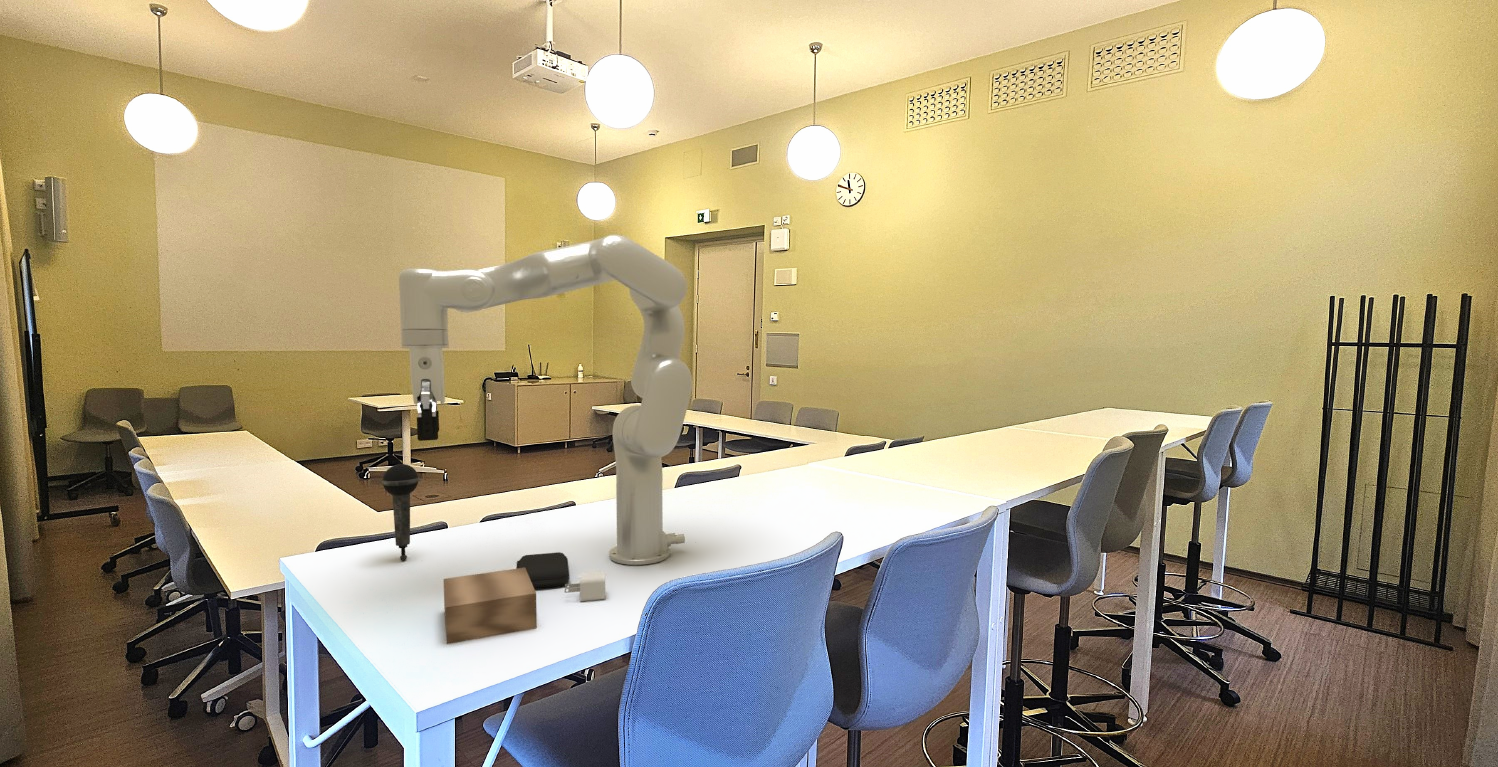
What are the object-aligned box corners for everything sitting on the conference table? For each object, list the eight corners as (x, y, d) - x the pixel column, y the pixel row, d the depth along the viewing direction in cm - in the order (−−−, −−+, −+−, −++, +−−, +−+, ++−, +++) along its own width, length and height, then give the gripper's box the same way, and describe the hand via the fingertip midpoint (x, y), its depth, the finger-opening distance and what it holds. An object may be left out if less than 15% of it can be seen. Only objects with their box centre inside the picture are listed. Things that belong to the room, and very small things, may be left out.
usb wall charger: (605, 600, 118) (605, 578, 118) (564, 603, 116) (564, 581, 116) (605, 591, 122) (604, 570, 121) (565, 595, 120) (565, 573, 120)
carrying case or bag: (512, 568, 135) (508, 595, 121) (511, 553, 134) (508, 579, 120) (567, 563, 138) (569, 589, 124) (567, 548, 138) (569, 573, 123)
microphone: (424, 562, 137) (421, 465, 136) (386, 568, 133) (383, 468, 132) (419, 553, 143) (416, 459, 141) (382, 559, 139) (379, 463, 138)
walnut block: (525, 600, 118) (525, 567, 118) (536, 629, 106) (536, 592, 106) (444, 613, 113) (443, 578, 112) (446, 646, 101) (445, 607, 100)
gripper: (448, 340, 112) (451, 441, 114) (448, 339, 128) (451, 428, 129) (397, 340, 109) (402, 444, 111) (404, 339, 125) (408, 431, 126)
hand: (428, 436), depth 120 cm, fingers open, 9 cm apart
